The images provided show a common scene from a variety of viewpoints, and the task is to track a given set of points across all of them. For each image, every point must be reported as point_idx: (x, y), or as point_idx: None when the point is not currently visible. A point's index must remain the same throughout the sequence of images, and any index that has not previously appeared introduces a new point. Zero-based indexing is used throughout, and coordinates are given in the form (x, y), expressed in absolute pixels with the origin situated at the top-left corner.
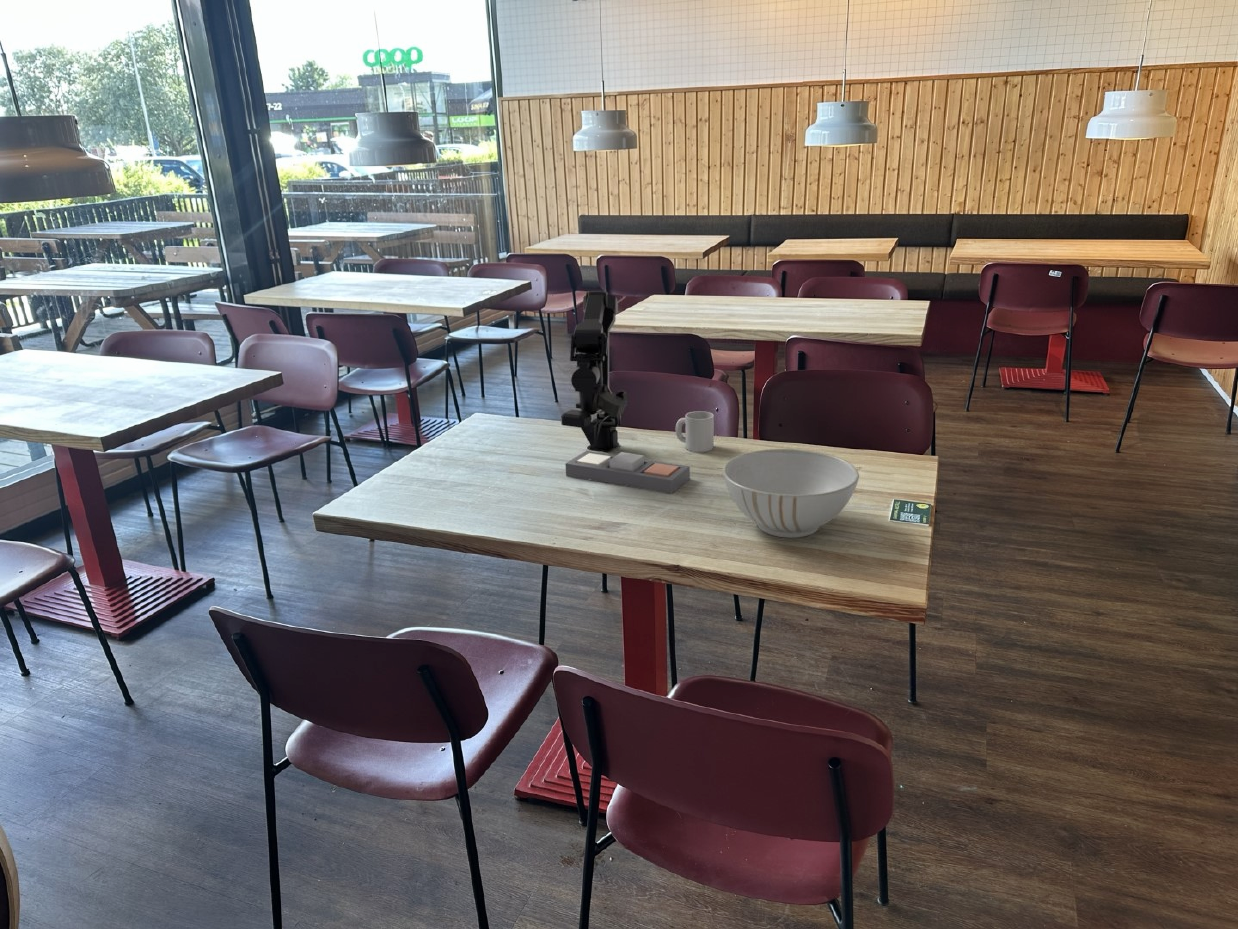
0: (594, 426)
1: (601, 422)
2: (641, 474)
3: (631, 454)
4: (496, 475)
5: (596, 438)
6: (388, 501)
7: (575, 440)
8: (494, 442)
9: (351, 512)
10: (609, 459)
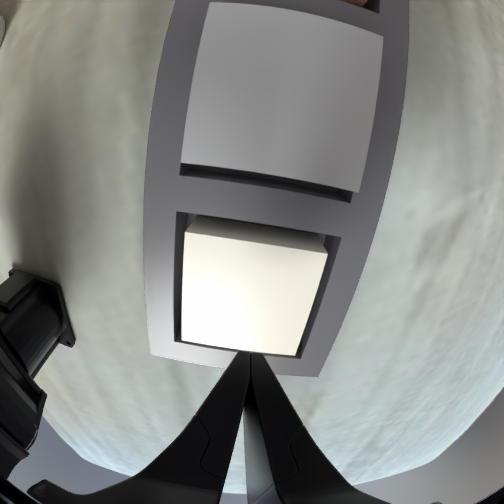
0: (332, 489)
1: (162, 479)
2: (396, 9)
3: (210, 75)
4: (322, 440)
5: (239, 378)
6: (415, 455)
7: (55, 371)
8: None
9: (435, 453)
10: (202, 229)
